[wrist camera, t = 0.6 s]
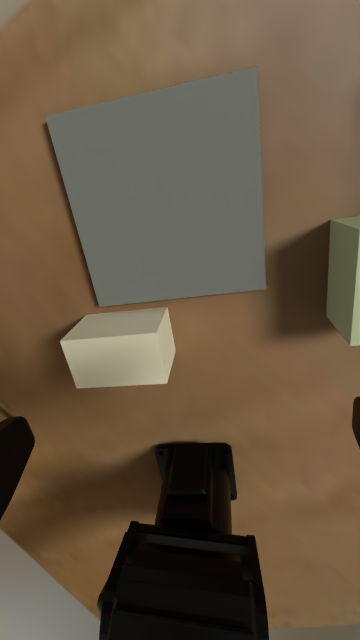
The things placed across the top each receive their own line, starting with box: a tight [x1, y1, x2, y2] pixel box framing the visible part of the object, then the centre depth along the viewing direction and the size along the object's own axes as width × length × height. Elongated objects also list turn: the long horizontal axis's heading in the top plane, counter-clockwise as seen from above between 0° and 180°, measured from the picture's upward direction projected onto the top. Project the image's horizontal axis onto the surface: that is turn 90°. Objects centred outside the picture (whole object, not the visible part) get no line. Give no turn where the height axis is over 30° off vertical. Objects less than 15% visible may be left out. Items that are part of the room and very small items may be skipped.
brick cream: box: [60, 307, 175, 388], centre depth 20 cm, size 6×4×4 cm, turn 99°
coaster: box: [45, 66, 266, 307], centre depth 17 cm, size 11×11×1 cm
